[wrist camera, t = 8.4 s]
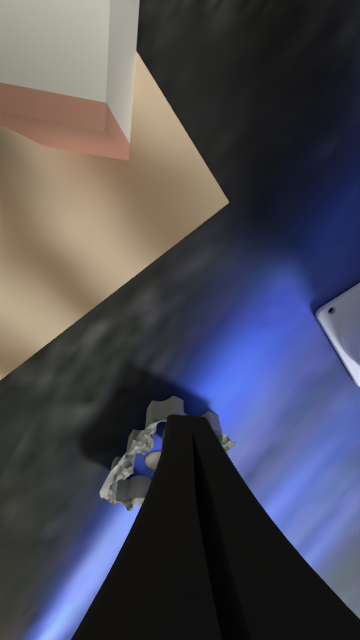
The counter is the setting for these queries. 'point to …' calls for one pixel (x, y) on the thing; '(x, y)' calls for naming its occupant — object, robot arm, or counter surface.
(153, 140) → the wooden board
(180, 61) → the counter surface
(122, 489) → the egg carton
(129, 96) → the cream block
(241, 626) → the robot arm
